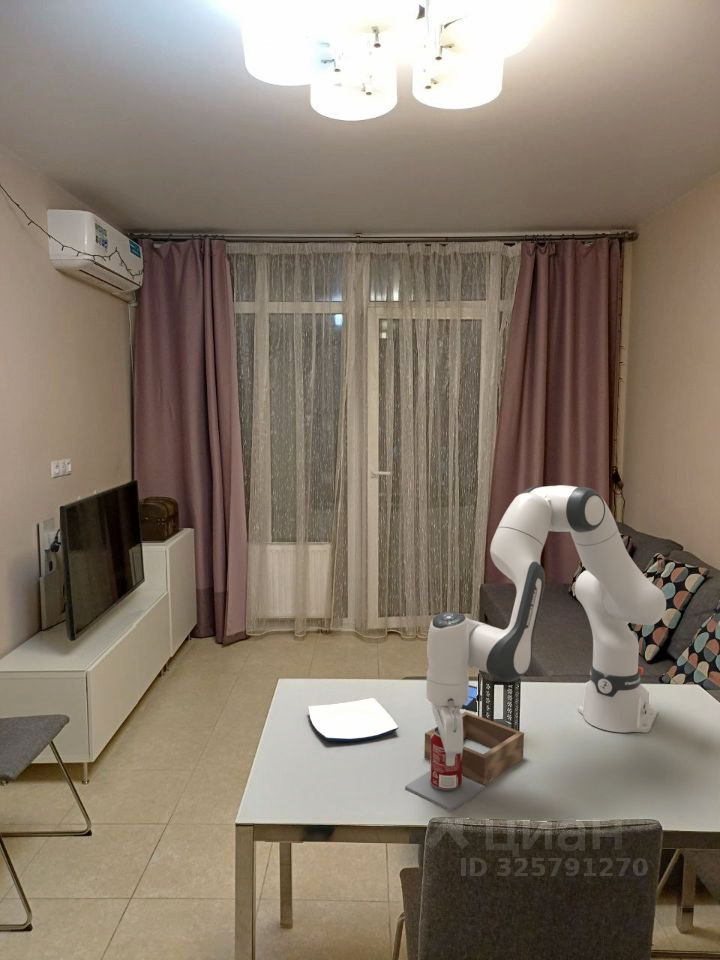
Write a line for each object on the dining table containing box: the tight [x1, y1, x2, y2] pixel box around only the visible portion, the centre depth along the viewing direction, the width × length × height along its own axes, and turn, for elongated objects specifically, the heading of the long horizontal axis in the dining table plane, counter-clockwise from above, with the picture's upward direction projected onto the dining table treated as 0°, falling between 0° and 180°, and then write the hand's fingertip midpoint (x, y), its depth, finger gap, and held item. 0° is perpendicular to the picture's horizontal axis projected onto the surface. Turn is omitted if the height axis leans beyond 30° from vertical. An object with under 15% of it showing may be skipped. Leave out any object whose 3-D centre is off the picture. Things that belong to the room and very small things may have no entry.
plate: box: [307, 697, 399, 742], centre depth 176 cm, size 20×20×3 cm
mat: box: [404, 771, 485, 812], centre depth 147 cm, size 12×12×1 cm
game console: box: [460, 684, 477, 713], centre depth 193 cm, size 14×13×2 cm
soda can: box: [429, 726, 463, 791], centre depth 146 cm, size 7×7×12 cm
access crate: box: [423, 711, 525, 785], centre depth 160 cm, size 16×16×6 cm
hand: (446, 752), depth 146 cm, fingers open, 8 cm apart
